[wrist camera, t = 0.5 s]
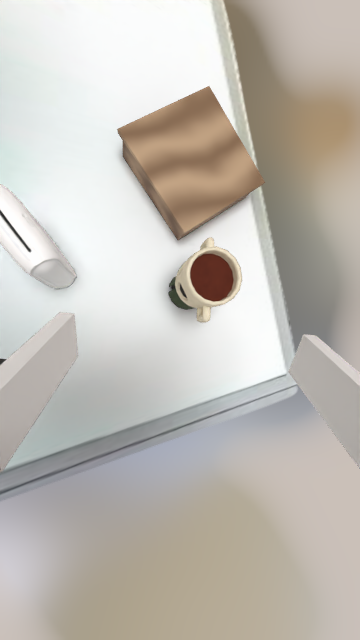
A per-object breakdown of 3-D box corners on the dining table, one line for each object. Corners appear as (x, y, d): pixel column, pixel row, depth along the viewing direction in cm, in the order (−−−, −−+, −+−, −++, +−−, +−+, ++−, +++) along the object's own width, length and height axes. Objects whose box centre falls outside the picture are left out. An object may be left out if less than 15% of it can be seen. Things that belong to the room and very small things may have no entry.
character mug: (167, 257, 38) (188, 225, 26) (206, 263, 40) (244, 234, 27) (163, 321, 38) (183, 320, 25) (203, 324, 40) (240, 323, 27)
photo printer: (12, 235, 33) (-53, 184, 21) (39, 221, 34) (-8, 164, 22) (56, 294, 34) (20, 277, 22) (81, 279, 35) (59, 255, 23)
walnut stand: (118, 154, 37) (117, 129, 32) (198, 114, 40) (209, 85, 35) (177, 244, 39) (184, 232, 34) (248, 198, 42) (264, 182, 37)
